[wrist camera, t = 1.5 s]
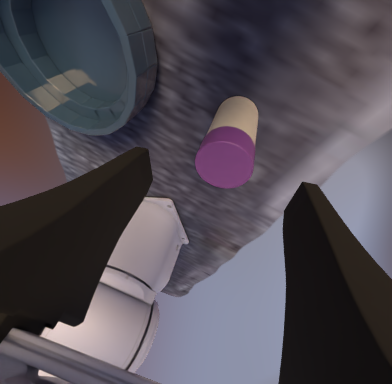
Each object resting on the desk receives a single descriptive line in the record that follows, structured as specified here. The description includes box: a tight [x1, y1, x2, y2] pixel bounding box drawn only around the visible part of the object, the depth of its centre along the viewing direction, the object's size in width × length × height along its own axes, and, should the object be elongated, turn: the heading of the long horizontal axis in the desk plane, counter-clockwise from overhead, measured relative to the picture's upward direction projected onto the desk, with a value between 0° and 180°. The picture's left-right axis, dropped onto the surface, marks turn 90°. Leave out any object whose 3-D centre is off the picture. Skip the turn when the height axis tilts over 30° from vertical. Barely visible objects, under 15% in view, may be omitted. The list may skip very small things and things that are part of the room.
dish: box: [0, 0, 158, 136], centre depth 12 cm, size 10×10×4 cm
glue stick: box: [195, 96, 258, 188], centre depth 12 cm, size 3×3×6 cm
